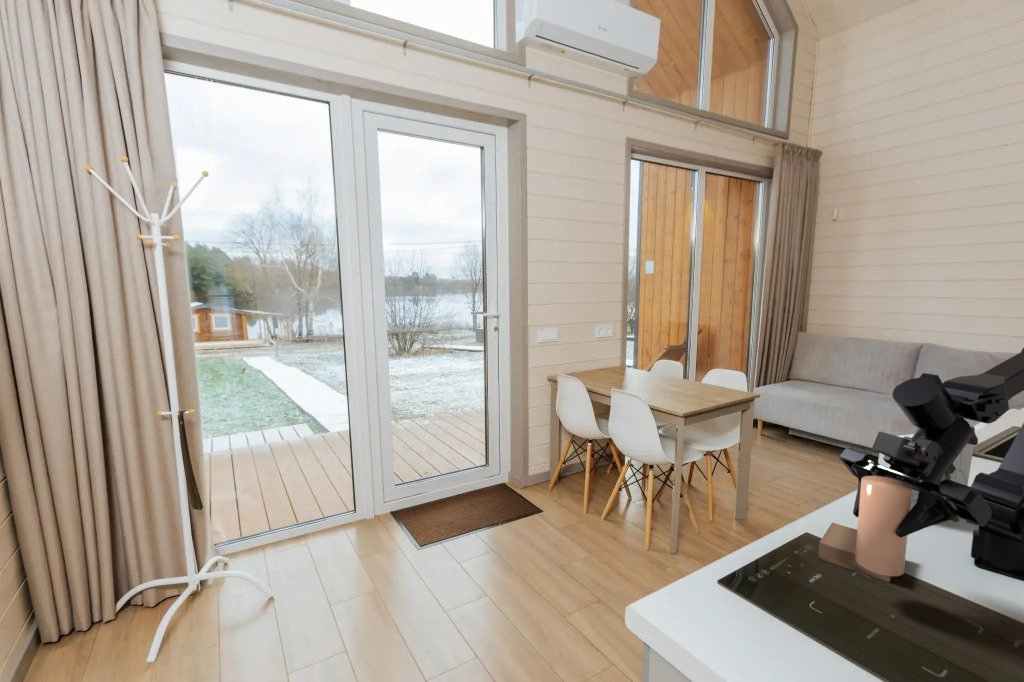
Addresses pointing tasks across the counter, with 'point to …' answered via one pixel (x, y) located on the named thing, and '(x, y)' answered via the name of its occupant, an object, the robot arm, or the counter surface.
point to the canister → (882, 525)
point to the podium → (843, 550)
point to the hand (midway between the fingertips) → (875, 525)
